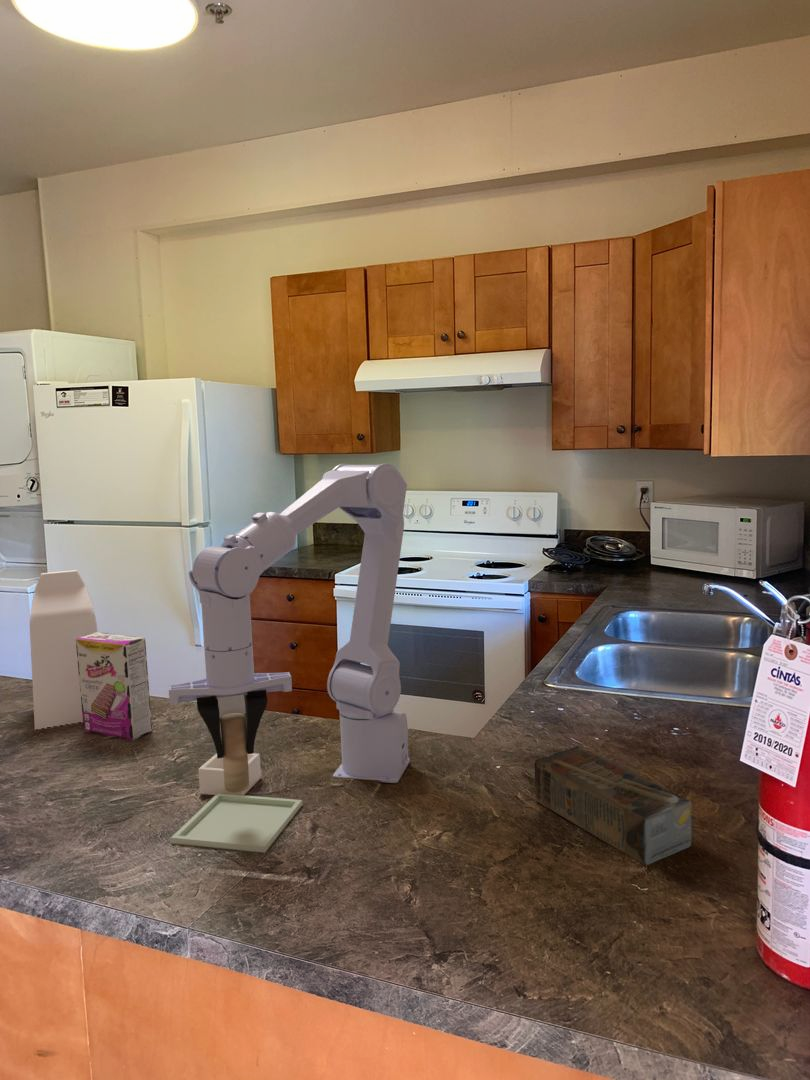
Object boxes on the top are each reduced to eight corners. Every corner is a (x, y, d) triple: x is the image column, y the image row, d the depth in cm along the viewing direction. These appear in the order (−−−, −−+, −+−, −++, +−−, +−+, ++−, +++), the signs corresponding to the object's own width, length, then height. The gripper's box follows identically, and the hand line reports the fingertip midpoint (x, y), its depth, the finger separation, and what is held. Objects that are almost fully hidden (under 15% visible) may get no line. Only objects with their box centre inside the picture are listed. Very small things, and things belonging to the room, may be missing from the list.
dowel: (247, 780, 100) (243, 711, 98) (250, 789, 97) (246, 719, 96) (223, 784, 99) (219, 714, 98) (226, 794, 96) (221, 722, 95)
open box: (261, 780, 112) (259, 753, 111) (242, 800, 106) (240, 771, 105) (221, 777, 113) (219, 750, 113) (200, 796, 107) (198, 768, 107)
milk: (34, 730, 135) (20, 580, 132) (35, 709, 146) (22, 570, 142) (109, 718, 140) (97, 573, 137) (105, 699, 150) (93, 564, 147)
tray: (302, 808, 103) (301, 800, 103) (265, 856, 91) (264, 846, 91) (218, 801, 106) (217, 793, 105) (171, 847, 94) (170, 837, 94)
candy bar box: (81, 733, 133) (73, 638, 131) (104, 723, 137) (96, 631, 135) (132, 742, 128) (124, 643, 126) (154, 731, 133) (146, 636, 130)
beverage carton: (644, 870, 86) (644, 813, 85) (531, 803, 103) (530, 755, 102) (693, 849, 90) (694, 794, 89) (577, 788, 107) (577, 741, 106)
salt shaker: (240, 723, 135) (235, 649, 133) (209, 721, 136) (204, 648, 135) (253, 711, 141) (249, 640, 139) (223, 710, 142) (219, 639, 140)
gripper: (284, 632, 101) (289, 733, 103) (166, 643, 97) (173, 749, 99) (292, 645, 95) (297, 753, 96) (165, 658, 90) (173, 771, 92)
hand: (235, 753), depth 97 cm, fingers closed on dowel, 3 cm apart
